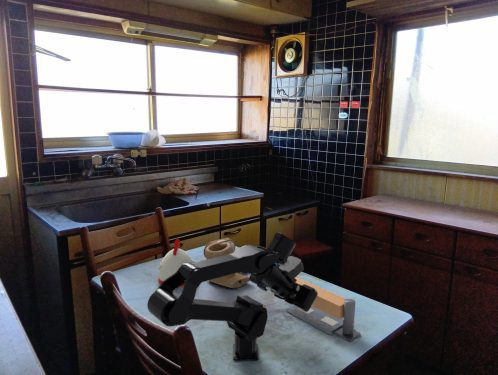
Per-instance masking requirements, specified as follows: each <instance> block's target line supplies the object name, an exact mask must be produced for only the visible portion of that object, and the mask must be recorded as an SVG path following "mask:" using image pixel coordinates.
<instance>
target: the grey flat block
mask: <svg viewBox="0 0 498 375" xmlns="http://www.w3.org/2000/svg"><path fill="white" fill-rule="evenodd" d="M334 334H335V335H336V336H338V337H340V338H342V339H344V340H345V341H348V342H350V343H351V342H353V341H354V340H355V339H357V338H358V337H360V336H361V332H359V331H357V330H355V329H354V332H353V334H345V333H344V332H343V328H341V329H339V330H338V331H336V332H335V333H334Z"/></svg>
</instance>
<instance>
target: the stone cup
mask: <svg viewBox="0 0 498 375" xmlns="http://www.w3.org/2000/svg"><path fill="white" fill-rule="evenodd" d="M232 253H234V252H233V248H232V246H231V245H230V244H229V243H227V242H226V243H222V242H217V243H213V244H211V245H209V246H208V247H207V248H206V249H205V256H206V258H205V260H207V259H211V258H216V257H220V256H225V255H229V254H232ZM205 256H204V257H205ZM249 277H250V276H246V275H245V274H244V275H243V274H242V273H241V274H238V273H235V274H231V275H227V276H224V277H220V278H216V279H213V280H209V281H208V282H211V283H214V284H217V285H220V286H224V287H226V288H230V289H238V288H240V287H243V286H245V285H247V283H249V282H250V281H249Z"/></svg>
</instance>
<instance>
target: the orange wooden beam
mask: <svg viewBox="0 0 498 375" xmlns="http://www.w3.org/2000/svg"><path fill="white" fill-rule="evenodd" d="M295 279H296V280H297V281H296V283H298V284H300V285H304V284H305V285H308V286H310V287H312V288H314V289H315V290H316V291H317V293H318V295H317V297H316V298H315V300H314V302H313V304H312V306H313V307H315V308H317V309H319V310H321V311H323V312H325V313H327V314H329V315H331V316H333V317H335V318H337V319H340V318H342V317H343V332H344V333H345V334H353V332H354V330H355V315H356V314H355V313H356V300H355V299H353V298H345V297H344V296H341V295H340V294H339V295H338V294H336V293H334V292H332V291H330V290H327V289H325V288H322V287H320V286H318V285H316V284H313V283H311V282H308V281H306V280H304V279H302V278H299V277H298V276H297V277H295Z"/></svg>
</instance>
